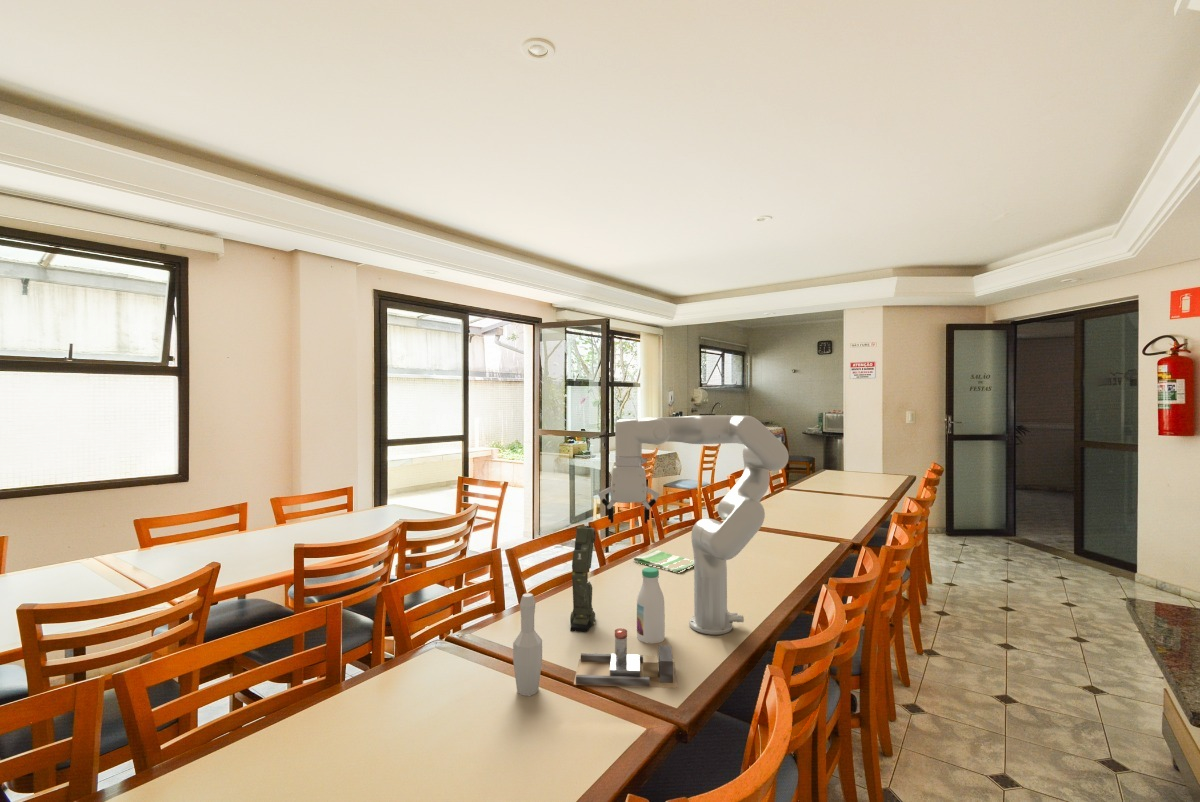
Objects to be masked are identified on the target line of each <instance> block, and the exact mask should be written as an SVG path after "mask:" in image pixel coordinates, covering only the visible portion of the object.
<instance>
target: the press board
mask: <svg viewBox="0 0 1200 802" xmlns="http://www.w3.org/2000/svg"><path fill="white" fill-rule="evenodd" d="M611 654H612V653H611ZM611 654H610V653H580V658H579V659H578V664H577V668H576V671H575V676H574V681H573V685H575V686H577V685H578V686H606V687H607V686H608V687H609V686H610V687H635V688H636V687H638V688H664V689H665V688H668V689H669V688H670V689H673V688H674V689H679V684H678V679H677V677H678V676H677V672H676V665H675V662H674V660H673V652H672V646H671V645H666V644H665V645H663V644H662V645H658V677H643V655H644V654H640V677H630V676H610V664H611Z"/></svg>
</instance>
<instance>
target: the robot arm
mask: <svg viewBox="0 0 1200 802" xmlns="http://www.w3.org/2000/svg"><path fill="white" fill-rule="evenodd" d="M614 426H615V427H614V429H615V430H614V432H615V433H614V435H615V437H614V438H615V439H614V440H615V443H614V444H615V445H614V446H615V449H614V451H615V452H614V453H615V458H614V459H615V462H614V463H615V465H614V466H612V471H611V472H612V473H611V479H610V481H611V482H610V483H611V484H610V486H609V487H607V488H605V489H603V490H601V491H598V497H599V498H600V501H601V503H602V504H603V505H604V506H605V507H606V508H607V514H608V515H607V516H608V517H607V519H608V520H610V524H614V507H613V506H614V505H615V504H616V503H623V504H624V503H625V504H626V503H627V504H630V503H631V504H633V503H635V504H637V503H638V504H639V503H641V504H642V505H643V506H644V514H643V515H644V517H643V518H644V524H648V521H650V509H652V507H653V506H654V505H655V504H656V502H657V501H658V498H659V497H660V493H659V492H658V491H656V490H654V489H652V488H650V487H649V486H647V477H646V476H647V475H646V469H645V466H643V465H644V464H648V459H647V458H645V457H643V451H642V450H643V447H642V446H643V444H645V445H662V444H664V443H666V442H667V443H668V442H669V443H670V442H671V443H672V442H673V443H674V442H675V443H683V444H690V445H717V444H722V445H723V444H724V445H725V444H740V445H744V447H743V449H742V458H743V471H742V475H741V477H740V478H739V479H738V481H737V482H736V483H735V484H734V485H733V487H731V489H729V491H727V493H726V494H725V496H724V497H723V498H722V499H721V500H720V501H719V503H718V505H717V513H718V516H719V517H720V518H721V520H722V521H723V522H721V521H718V520H716V519H714V518H708V517H705V518H700V519H699V520H698V521H696V522H695V523H694V525H693V526H692V529H691V533H690V534H691V537H690V538H691V545H692V551H693V560H694V568H693V569H694V571H693V573H694V574H693V577H694V578H693V580H694V583H693V584H694V585H693V586H694V587H693V590H694V591H693V592H694V593H693V595H694V596H693V597H694V599H693V600H694V601H693V603H694V604H693V605H694V606H693V607H694V615H693V616H691V617H690V618H689V620H688V624H689V627H690V628H691V629H692V630H694V631H696V632H698V633H700V634H705V635H713V636H714V635H718V636H719V635H724V634H727V633H730V632H731V631H732V630H733V625H734V624H733V623H735V622H736V623H744V620H745V619H744V617H745V616H744V614H743V615H740V614H738V612H730V611H728V578H727V577H728V567H727V566H728V565H727V561H729V560H732V559H733V558H735V557H736V556H737V555H739V553H741V551H742V550H743V549H744V548H745V547H746V546H747V545H748V544H749V542H750V541H751V540H752V539H753V538H754V536H756V534H757V533H758V532H759V530H760V529H761V527H762V526H763V525H764V521H765V518H766V517H765V516H766V514H765V513H766V512H765V508H764V506H763V504H762V503H761V502H760V501H762V499H763V497H764V496H765V495H766V493H767V491H768V489H769V488H770V487H769V486H770V479H771V478H770V471H772V472H775V471H781V470H782V469H784V468H785V467H786V466H787V464H788V462H789V452H788V449H787V447H786V446H785V444H784V443H783V442H782V441H781V440H780V439H779V438H778V437H777V436H775V435H774V433H773V432H771V430H770V429H768V428H767V426H765V425H764V424H763V423H762V422H761V421H760V420H758V419H757V418H756V417H754V416H751V415H742V414H741V415H740V414H737V415H736V414H733V415H732V414H717V415H715V414H713V415H688V416H687V415H686V416H669V417H668V416H667V417H666V416H665V417H664V416H662V417H642V418H641V419H637V418H635V419H634V418H622V419H621V418H620V419H618V420H617V421H615V425H614ZM607 494H610V501H608V499H607V498H606V495H607ZM648 494H650V495H651V496H652V498H651V499H650V501H648V500H647V495H648Z"/></svg>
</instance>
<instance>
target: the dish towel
mask: <svg viewBox="0 0 1200 802" xmlns="http://www.w3.org/2000/svg"><path fill="white" fill-rule="evenodd" d="M665 559H668V560H667V562H663V563H661V564H660V563H657V562H660V561H662V560H665ZM633 560H634V561H633V563H635V562H637V564H639V563H642V564H641V565H643V564H646V565H645V566H647V565H652V566H656V567H660V568H664V569H668V570H672V571H674V572H680V571H682V570H684V569H687V568H688V567H690V566H693V565H694V559H690V558H685V557H683V556H678V555H674V554H671V553H668V552H665V551H661V550H659V549H655V550H652V551H649V552H647V553H644V554H642V555H639V556H636V557H633ZM681 560H688V561H690V562H691V561H693V562H692V563H691V564H688V565H681V566H679V568H678V567H677V568H674V567H673V568H668V566H669V564H676V563H677V562H680V561H681ZM674 572H673V573H674Z"/></svg>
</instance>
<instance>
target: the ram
mask: <svg viewBox="0 0 1200 802" xmlns="http://www.w3.org/2000/svg"><path fill="white" fill-rule="evenodd" d="M627 637H628V630H627V629H626V628H623V627H622V628H616V629H615V630H614V638H615V639H614V646H615V647H614V651H615V652H614V653H611V664H610V676H630V677H640V655H641V654H639V653H638V654H633V653H631V654H630V653H628V650H627V649H628V638H627Z"/></svg>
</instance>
